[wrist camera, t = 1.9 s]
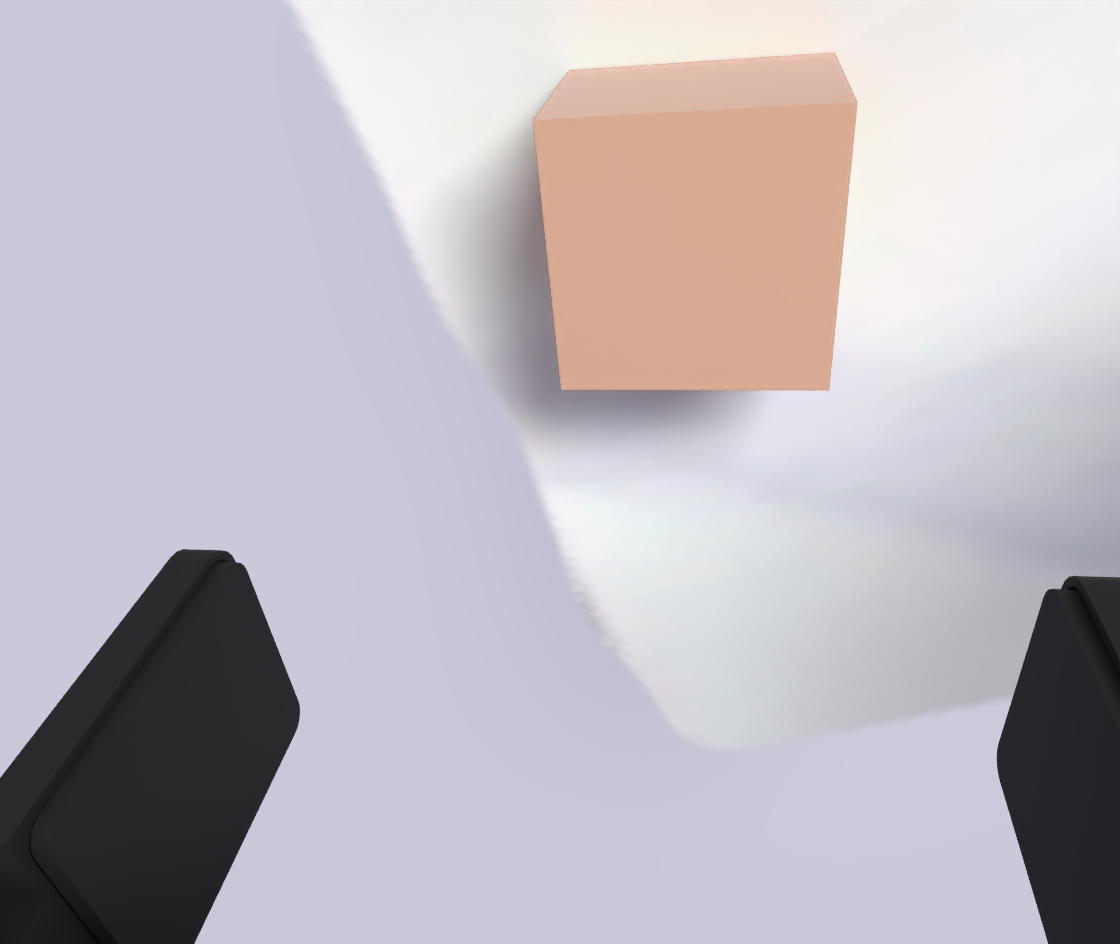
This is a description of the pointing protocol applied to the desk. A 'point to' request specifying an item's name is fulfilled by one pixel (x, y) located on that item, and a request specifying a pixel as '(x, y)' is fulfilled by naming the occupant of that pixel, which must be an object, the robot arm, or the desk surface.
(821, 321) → the peach tapered block
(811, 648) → the desk surface
